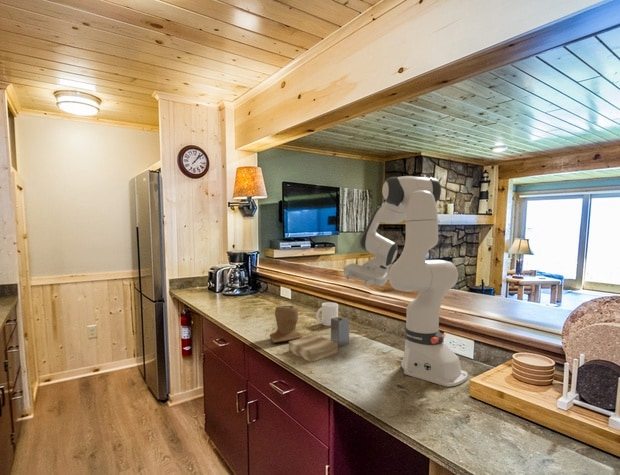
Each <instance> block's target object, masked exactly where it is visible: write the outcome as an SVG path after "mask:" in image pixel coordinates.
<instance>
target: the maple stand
mask: <svg viewBox="0 0 620 475" xmlns="http://www.w3.org/2000/svg"><path fill="white" fill-rule="evenodd" d="M288 352H289V353H291V354H293V355H295V356H297V357H300V358H301V359H303V360H306V361H308V362H310V363H312V362H315V361H318V360H321V359H325V358H327V357H331V356H333V355H337V354H338V353H339V347H338V343H336V342H333V341H331V339H328V338H325V337H323V336H321V335H318V334H311V335H307V336H303V337H301V338H298V339H293V340H288Z"/></svg>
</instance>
